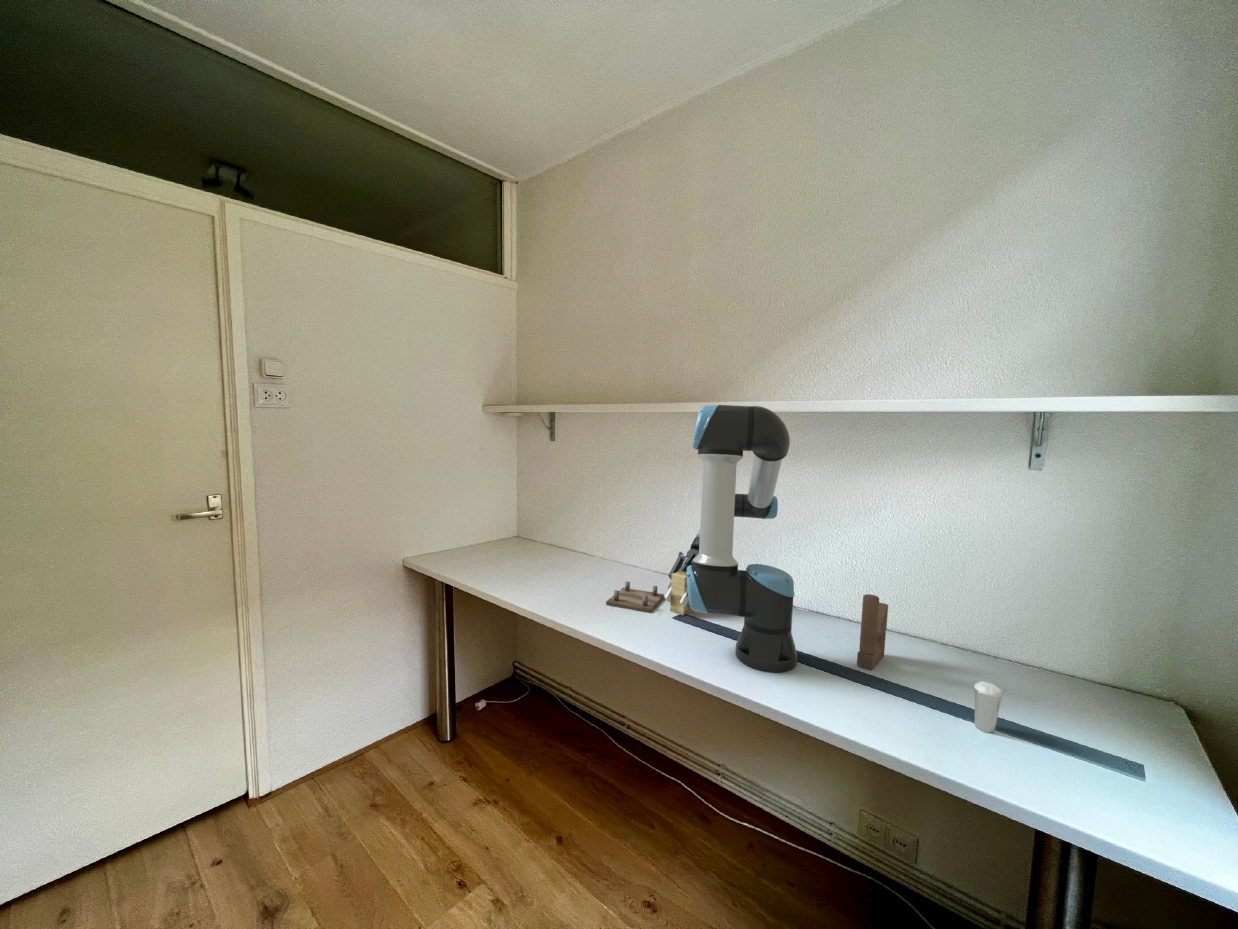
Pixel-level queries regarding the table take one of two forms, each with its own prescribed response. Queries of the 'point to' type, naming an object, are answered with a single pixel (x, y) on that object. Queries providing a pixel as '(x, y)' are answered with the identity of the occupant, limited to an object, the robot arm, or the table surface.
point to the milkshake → (987, 706)
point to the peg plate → (635, 599)
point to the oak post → (679, 593)
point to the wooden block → (872, 632)
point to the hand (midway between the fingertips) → (674, 602)
